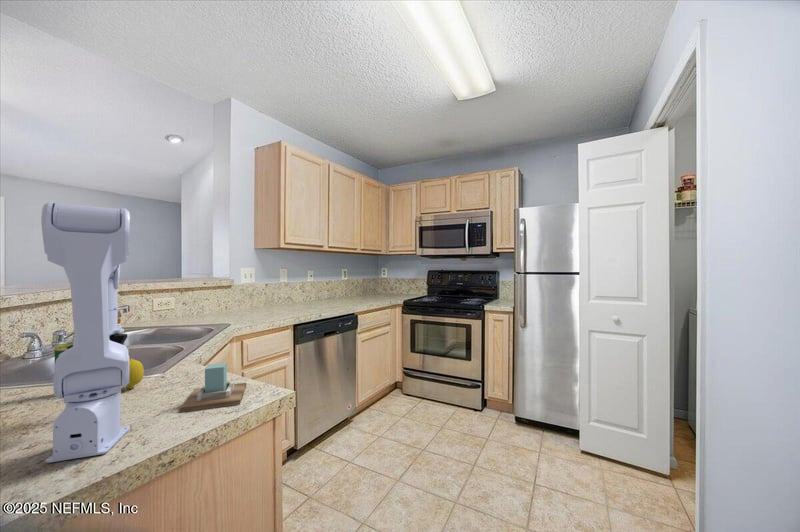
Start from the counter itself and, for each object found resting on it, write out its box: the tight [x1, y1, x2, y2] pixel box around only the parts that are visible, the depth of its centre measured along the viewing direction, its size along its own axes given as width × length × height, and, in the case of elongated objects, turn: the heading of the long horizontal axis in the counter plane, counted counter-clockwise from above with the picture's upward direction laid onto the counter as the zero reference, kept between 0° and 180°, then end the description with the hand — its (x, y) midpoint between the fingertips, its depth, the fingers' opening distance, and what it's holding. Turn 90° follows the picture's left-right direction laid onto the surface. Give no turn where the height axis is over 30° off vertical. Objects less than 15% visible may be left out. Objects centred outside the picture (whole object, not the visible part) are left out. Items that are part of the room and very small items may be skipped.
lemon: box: [121, 358, 145, 390], centre depth 84 cm, size 6×6×8 cm
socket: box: [179, 381, 247, 413], centre depth 78 cm, size 12×12×2 cm
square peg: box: [204, 362, 228, 393], centre depth 78 cm, size 4×4×7 cm
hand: (99, 372), depth 69 cm, fingers open, 7 cm apart
